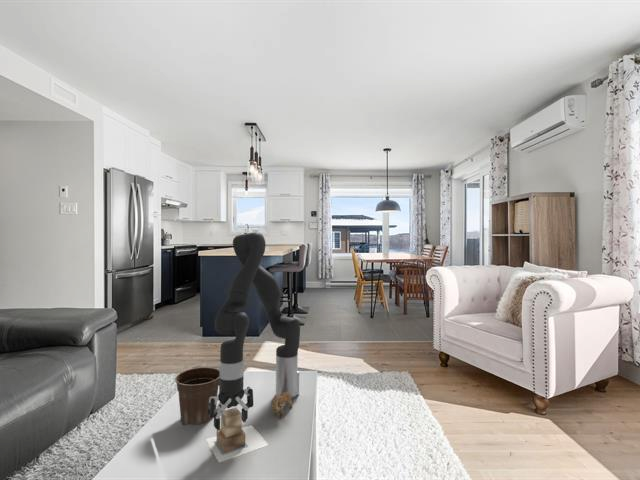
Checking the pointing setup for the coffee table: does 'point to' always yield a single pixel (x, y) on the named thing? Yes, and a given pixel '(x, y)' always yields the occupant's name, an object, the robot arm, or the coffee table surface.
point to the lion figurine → (281, 403)
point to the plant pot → (196, 393)
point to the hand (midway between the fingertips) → (231, 425)
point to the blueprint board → (251, 443)
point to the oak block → (231, 422)
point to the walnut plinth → (230, 441)
